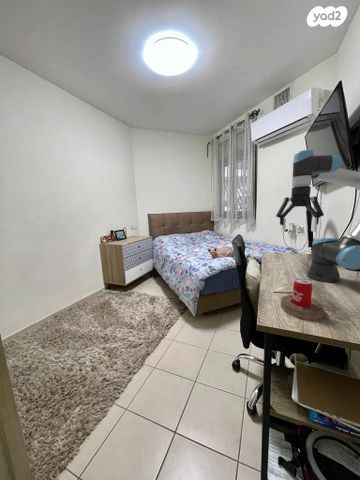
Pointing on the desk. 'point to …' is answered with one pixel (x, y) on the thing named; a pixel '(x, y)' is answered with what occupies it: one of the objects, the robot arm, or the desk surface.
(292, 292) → the lace cord
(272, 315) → the desk surface
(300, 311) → the brown flat ring
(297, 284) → the beverage can
